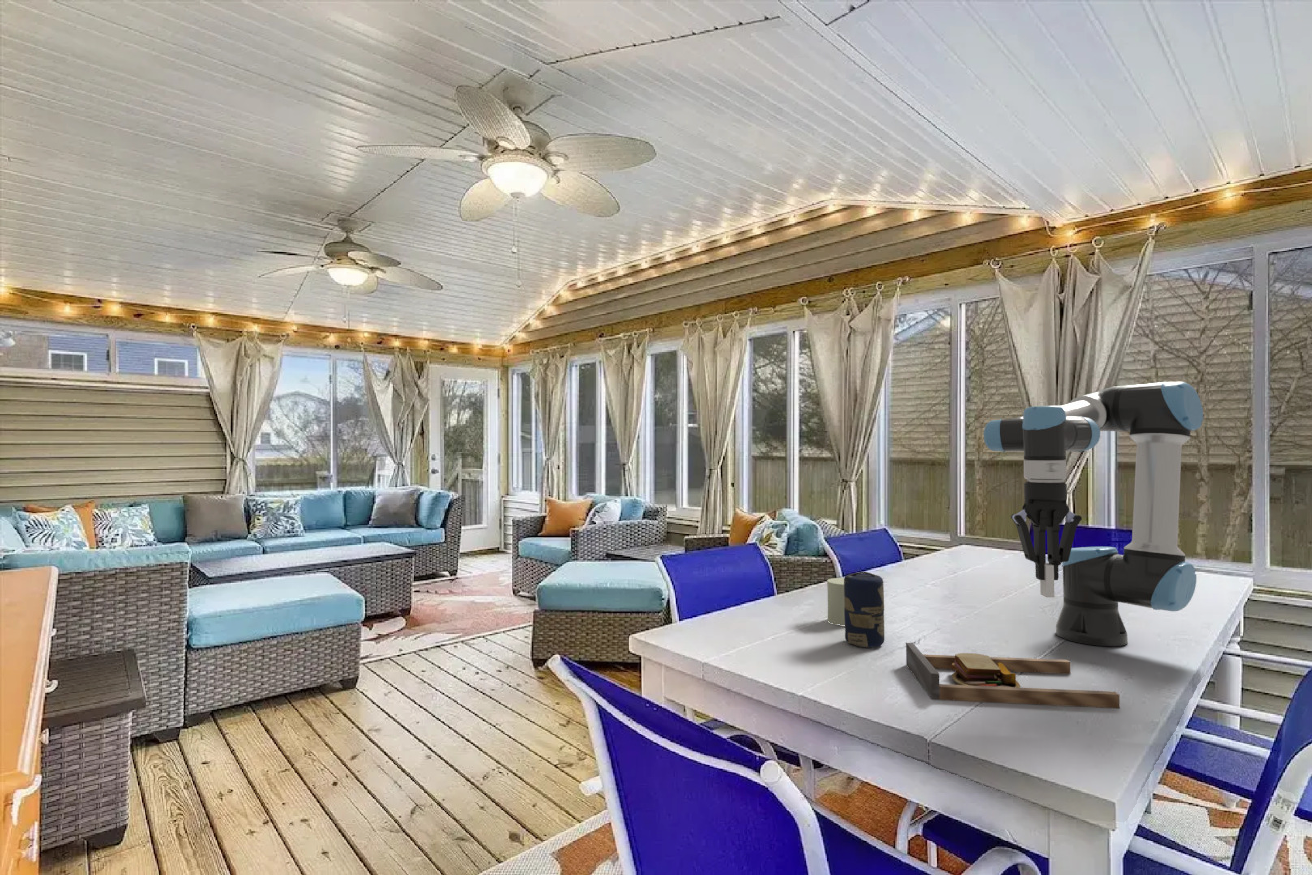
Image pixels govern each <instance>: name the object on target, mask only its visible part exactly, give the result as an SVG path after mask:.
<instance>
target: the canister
mask: <svg viewBox="0 0 1312 875" xmlns="http://www.w3.org/2000/svg"><path fill="white" fill-rule="evenodd" d="M843 578H844V604H845V605H844V606H845V608H844V615H845V627H844V638H845V641H846V642H847V643H848V644H850V645H854V646H857V647H861V648H873V647H874V648H875V647H880V646H882V645H883V644H884V643H885V594H884V592H885V590H884V589H885V588H884V580H883V578H882V577H881V576H880V575H877V574H873V573H870V572H867V571H858V572H854V573H849V574H847V575H845V576H844V577H843Z"/></svg>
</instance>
